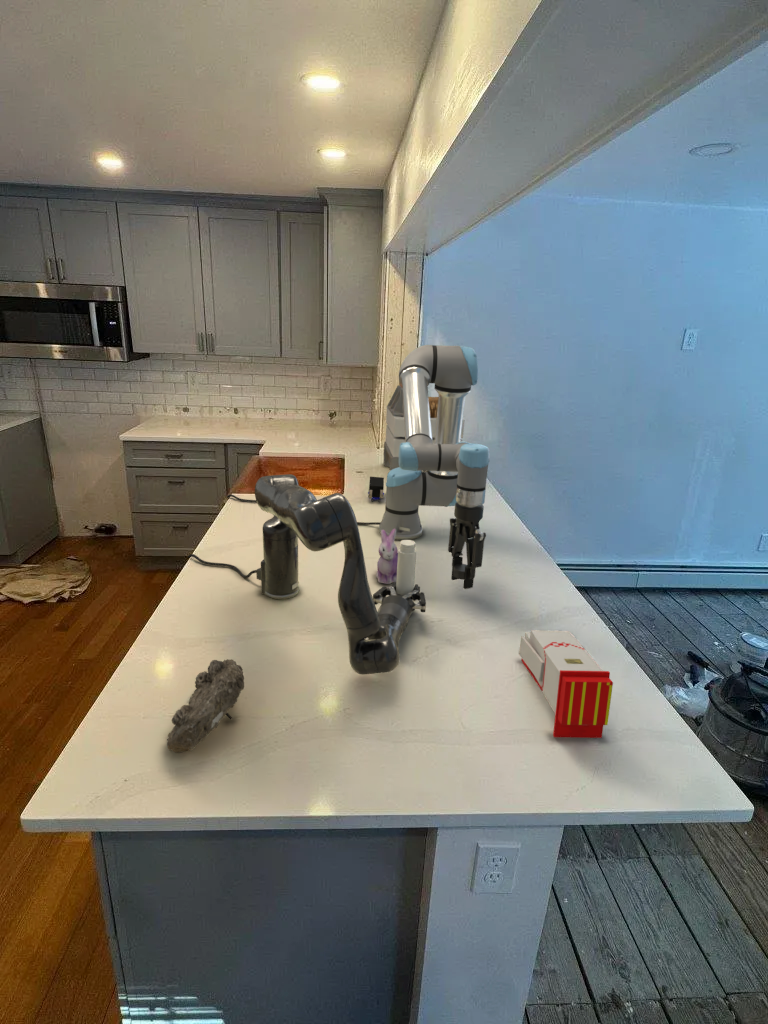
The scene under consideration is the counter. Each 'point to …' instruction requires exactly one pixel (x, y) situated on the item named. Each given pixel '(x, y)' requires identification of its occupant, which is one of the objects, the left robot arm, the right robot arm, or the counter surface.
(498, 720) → the counter surface
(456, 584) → the counter surface
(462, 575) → the lid
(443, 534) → the counter surface
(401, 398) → the tiered storage shelf
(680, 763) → the counter surface
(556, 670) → the toy
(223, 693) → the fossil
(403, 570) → the jar
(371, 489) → the figurine character
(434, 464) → the right robot arm
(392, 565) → the figurine
